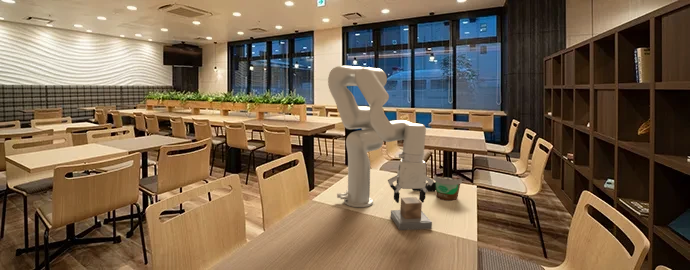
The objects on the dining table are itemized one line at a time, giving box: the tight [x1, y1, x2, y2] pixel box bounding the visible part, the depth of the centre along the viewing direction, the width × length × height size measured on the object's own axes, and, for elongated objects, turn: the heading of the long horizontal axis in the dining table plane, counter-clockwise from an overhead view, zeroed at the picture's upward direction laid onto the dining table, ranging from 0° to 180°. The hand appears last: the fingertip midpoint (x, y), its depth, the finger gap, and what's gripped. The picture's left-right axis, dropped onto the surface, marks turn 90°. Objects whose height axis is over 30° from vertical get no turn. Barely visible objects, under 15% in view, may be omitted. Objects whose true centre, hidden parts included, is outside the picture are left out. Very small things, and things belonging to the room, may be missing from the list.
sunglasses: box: [411, 178, 436, 193], centre depth 166 cm, size 14×16×5 cm
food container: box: [433, 174, 463, 202], centre depth 147 cm, size 12×6×10 cm, turn 62°
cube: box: [399, 196, 423, 219], centre depth 123 cm, size 6×6×6 cm
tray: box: [390, 209, 433, 231], centre depth 123 cm, size 12×12×3 cm
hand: (409, 201), depth 123 cm, fingers open, 9 cm apart
